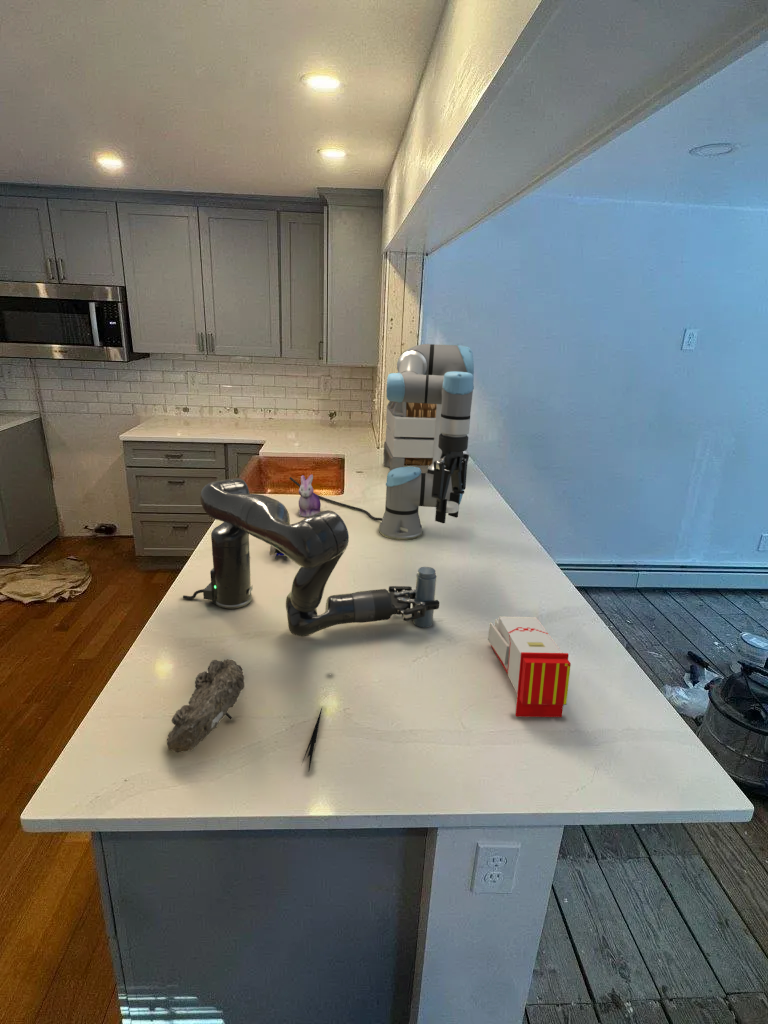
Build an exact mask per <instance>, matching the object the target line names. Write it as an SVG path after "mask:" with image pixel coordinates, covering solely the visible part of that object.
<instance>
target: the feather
mask: <svg viewBox="0 0 768 1024" xmlns="http://www.w3.org/2000/svg"><path fill="white" fill-rule="evenodd" d="M329 675H330V676H331V675H332V674H331V673H330V674H329ZM322 710H323V707H321V708H320V710H319V713H318V716H317V719H316V723H315V725H314V728H313V731H312V733H311V737H310V739H309V742H308V745H307V748H306V751H305V754H304V757H303V760H302V763H301V767H302V765H303V763H304V761H305V758H308V759H309V760H308V762H307V763H308V764H307V766H308V771H310V770H311V766H312V765H311V764H312V760H313V757H315V756H314V755H315V751H316V749H315V746H317V739H318V733H319V729H320V722H321V717H322V712H323V711H322ZM313 754H314V755H313ZM306 755H307V757H306Z"/></svg>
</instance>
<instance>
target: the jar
mask: <svg viewBox="0 0 768 1024" xmlns="http://www.w3.org/2000/svg"><path fill="white" fill-rule="evenodd" d="M415 575H416V577H415V588H414V589H415V600H416V601H422V602H425V601H432V600H436V590H437V589H436V588H437V577H438V575H437V573H436V569H435V568H434V567H430V566H420V567H419V568H418V569H417V572H416V574H415ZM418 606H420V605H416V606H415V607H418ZM418 613H420V612H418ZM418 613H417V614H418ZM434 613H435V610H427V611H425V616H424V617H420V618H416V619H413V620H412V623H413V624H414V625H415V626H416V627H419V628H429V627H430V628H431V626H432V625H433V624H434V623H433V622H434Z"/></svg>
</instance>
